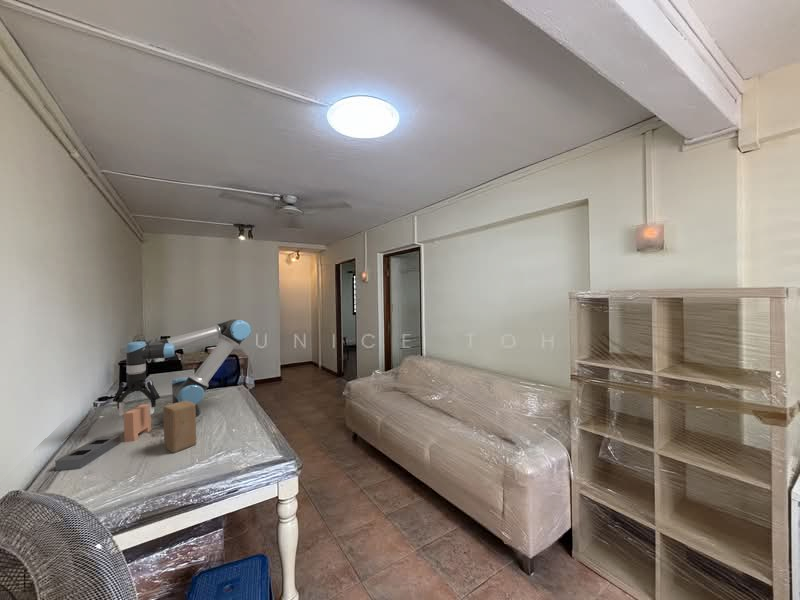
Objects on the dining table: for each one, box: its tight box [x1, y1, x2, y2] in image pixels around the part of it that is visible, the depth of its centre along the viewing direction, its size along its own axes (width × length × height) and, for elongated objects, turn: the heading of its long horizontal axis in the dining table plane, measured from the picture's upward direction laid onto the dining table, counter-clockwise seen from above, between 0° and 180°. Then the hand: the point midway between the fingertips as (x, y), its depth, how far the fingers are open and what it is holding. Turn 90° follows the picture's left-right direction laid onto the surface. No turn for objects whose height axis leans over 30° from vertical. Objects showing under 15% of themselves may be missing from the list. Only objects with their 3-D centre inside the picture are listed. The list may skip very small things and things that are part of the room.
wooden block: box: [162, 401, 197, 453], centre depth 148 cm, size 10×10×20 cm
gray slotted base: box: [54, 435, 121, 472], centre depth 140 cm, size 9×22×4 cm, turn 8°
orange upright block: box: [123, 403, 152, 443], centre depth 160 cm, size 4×13×14 cm, turn 8°
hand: (136, 414), depth 159 cm, fingers open, 13 cm apart
